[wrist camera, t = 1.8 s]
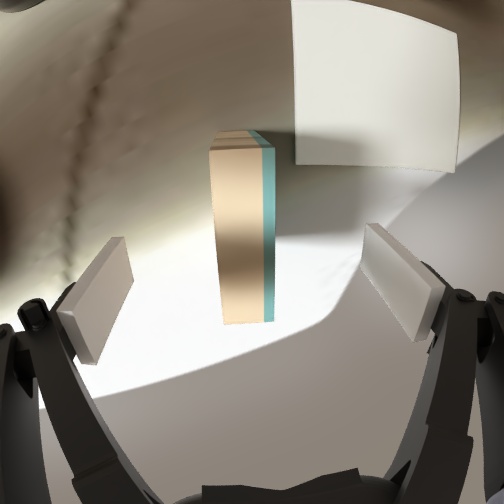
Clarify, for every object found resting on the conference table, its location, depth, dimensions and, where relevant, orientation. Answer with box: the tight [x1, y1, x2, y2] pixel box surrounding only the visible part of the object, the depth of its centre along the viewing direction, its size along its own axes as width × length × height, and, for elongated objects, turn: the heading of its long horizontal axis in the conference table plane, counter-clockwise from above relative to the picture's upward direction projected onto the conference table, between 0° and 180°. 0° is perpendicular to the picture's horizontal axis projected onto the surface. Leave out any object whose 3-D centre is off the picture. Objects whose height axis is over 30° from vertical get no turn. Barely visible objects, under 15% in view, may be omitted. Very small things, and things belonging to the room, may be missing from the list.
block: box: [209, 130, 275, 325], centre depth 21 cm, size 10×3×12 cm, turn 2°
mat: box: [291, 0, 460, 173], centre depth 22 cm, size 16×18×1 cm
